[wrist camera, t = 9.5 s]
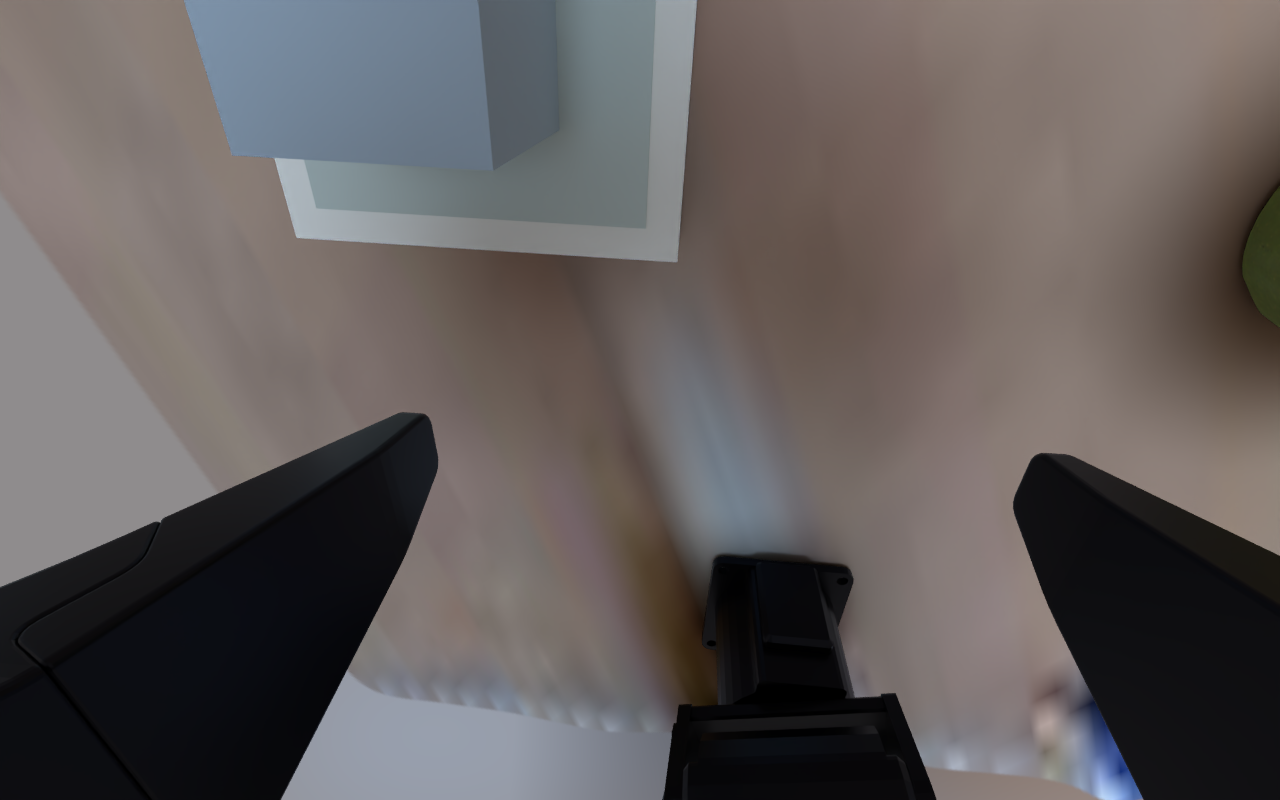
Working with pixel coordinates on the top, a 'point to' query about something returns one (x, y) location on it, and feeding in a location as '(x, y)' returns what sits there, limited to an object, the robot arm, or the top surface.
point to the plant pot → (1265, 260)
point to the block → (382, 78)
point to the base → (544, 157)
